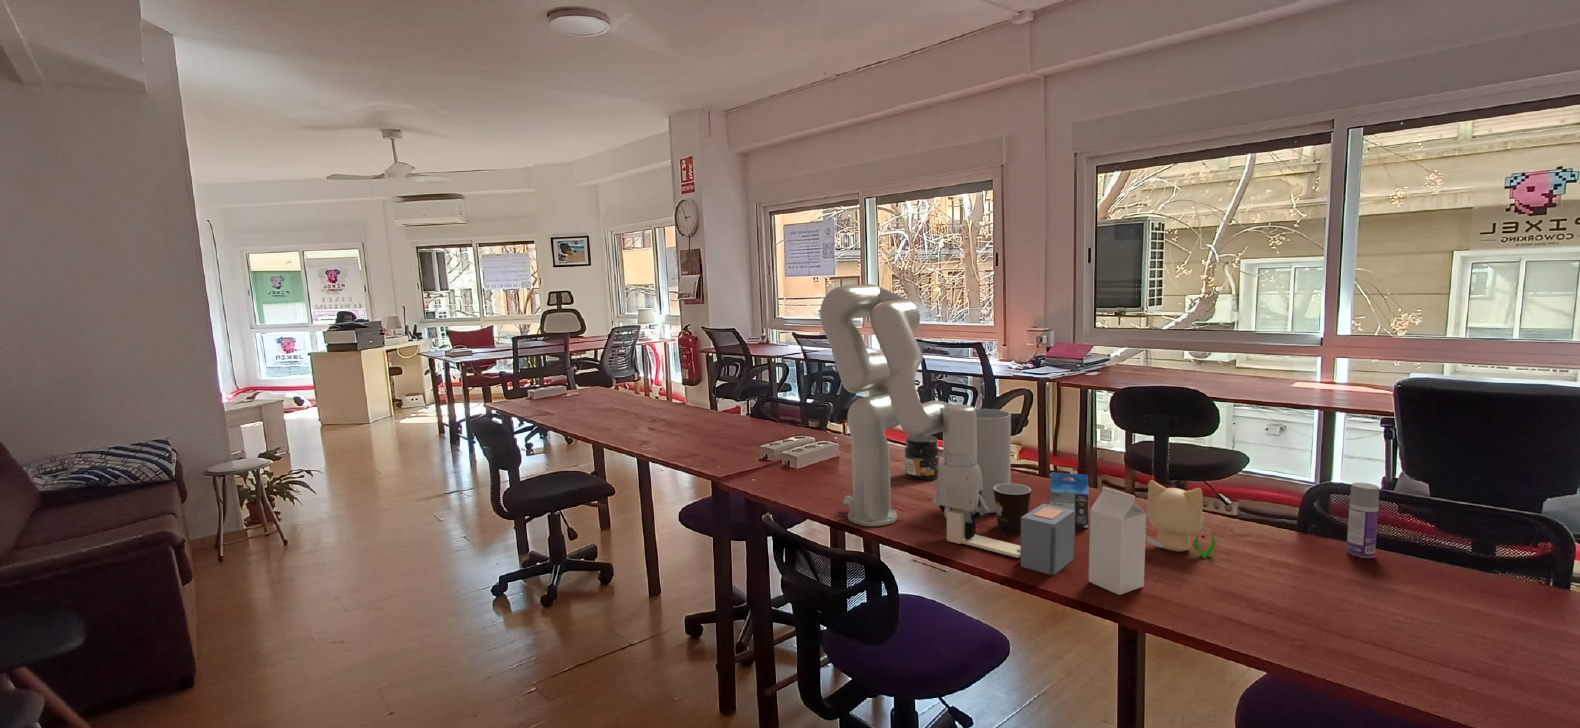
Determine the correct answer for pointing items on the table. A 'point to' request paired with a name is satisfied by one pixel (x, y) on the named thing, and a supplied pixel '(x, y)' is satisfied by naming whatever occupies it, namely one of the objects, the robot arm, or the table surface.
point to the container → (1363, 520)
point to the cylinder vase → (993, 451)
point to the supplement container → (921, 458)
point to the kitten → (1176, 517)
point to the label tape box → (1071, 495)
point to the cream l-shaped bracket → (957, 535)
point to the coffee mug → (1011, 506)
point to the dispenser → (1047, 539)
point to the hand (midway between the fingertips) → (960, 534)
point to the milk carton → (1117, 542)
